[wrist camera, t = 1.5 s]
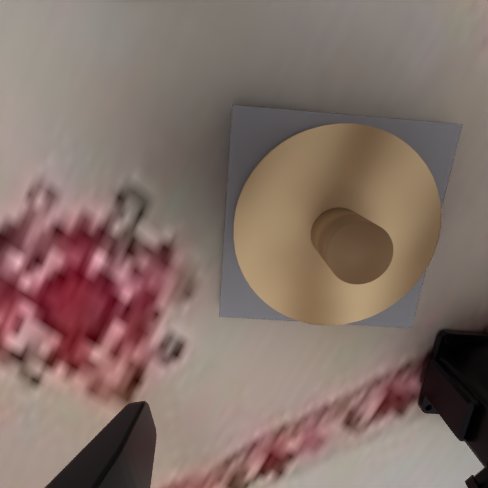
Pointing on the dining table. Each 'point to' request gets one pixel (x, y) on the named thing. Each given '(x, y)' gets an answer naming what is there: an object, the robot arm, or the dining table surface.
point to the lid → (336, 223)
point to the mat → (283, 127)
